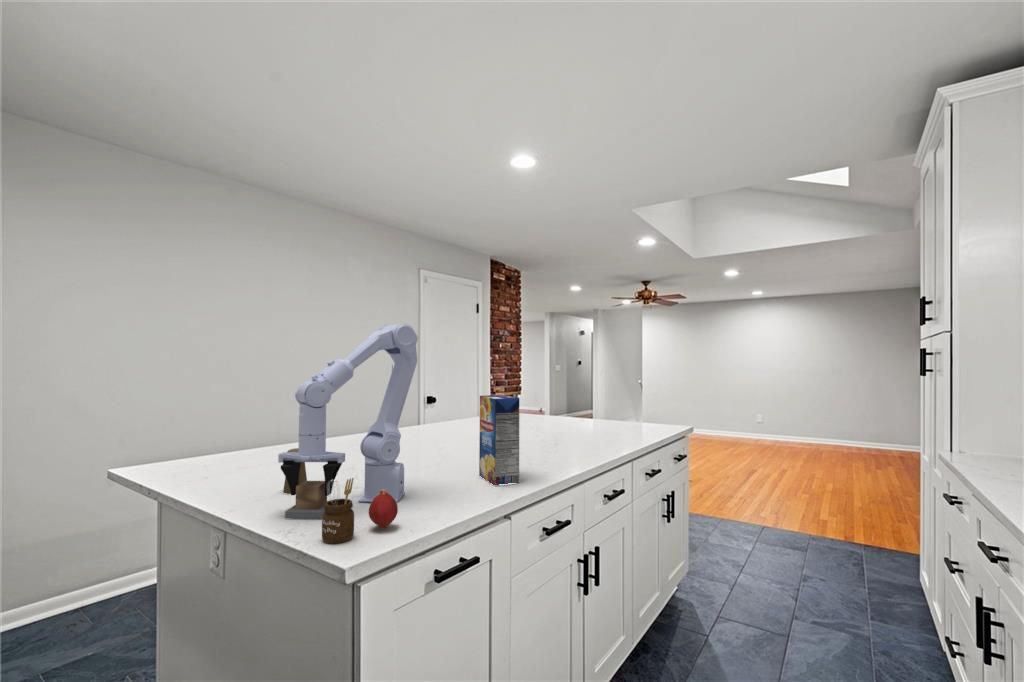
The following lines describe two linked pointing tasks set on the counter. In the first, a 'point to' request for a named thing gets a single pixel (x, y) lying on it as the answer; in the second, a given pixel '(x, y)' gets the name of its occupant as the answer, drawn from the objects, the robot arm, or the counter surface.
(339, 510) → the utensil holder
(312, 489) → the walnut cube
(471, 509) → the counter surface
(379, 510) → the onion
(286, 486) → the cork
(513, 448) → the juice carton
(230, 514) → the counter surface
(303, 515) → the slate base
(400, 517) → the counter surface
